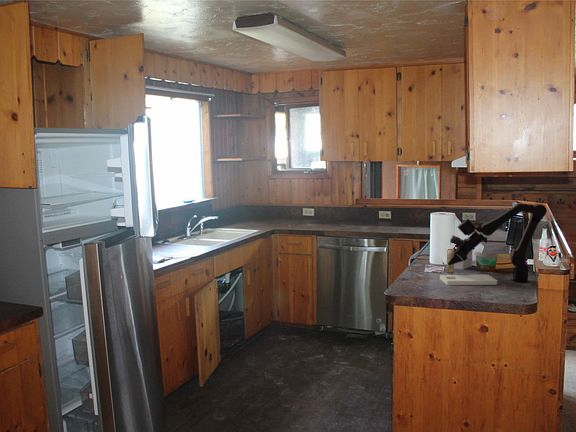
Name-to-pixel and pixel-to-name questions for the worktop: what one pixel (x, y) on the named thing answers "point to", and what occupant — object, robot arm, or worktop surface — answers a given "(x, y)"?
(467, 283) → the board
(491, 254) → the food container
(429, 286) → the worktop surface
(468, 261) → the light bulb box
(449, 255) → the peg
